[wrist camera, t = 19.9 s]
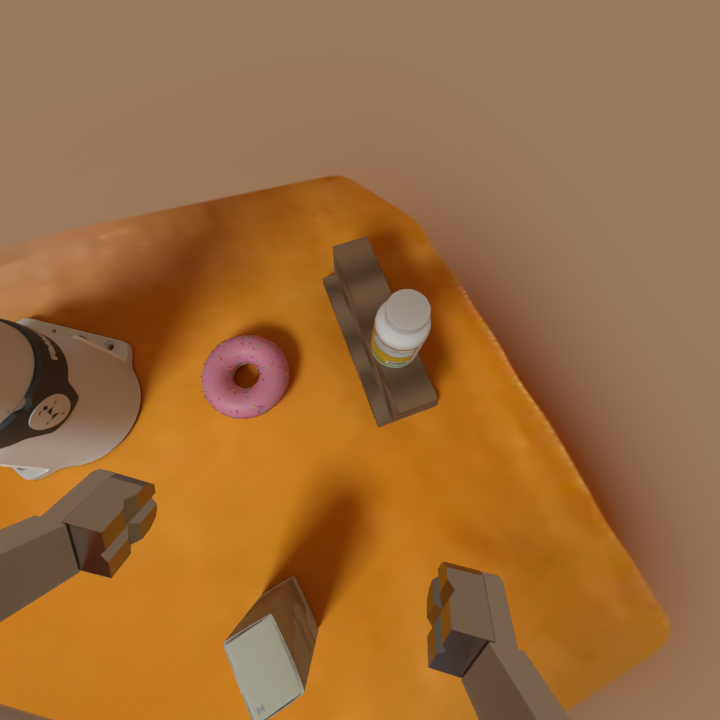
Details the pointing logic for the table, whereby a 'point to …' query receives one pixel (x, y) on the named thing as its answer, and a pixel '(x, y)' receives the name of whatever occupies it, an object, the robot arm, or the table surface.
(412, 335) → the supplement bottle
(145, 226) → the table surface
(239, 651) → the skincare box
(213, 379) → the doughnut
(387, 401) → the beam
